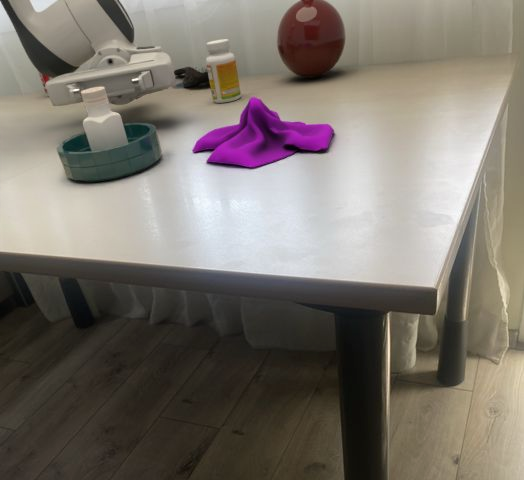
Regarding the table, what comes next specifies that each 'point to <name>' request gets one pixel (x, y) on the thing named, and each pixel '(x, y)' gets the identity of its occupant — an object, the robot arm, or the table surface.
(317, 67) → the red balloon
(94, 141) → the pepper shaker
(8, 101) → the table surface
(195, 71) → the black glove
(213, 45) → the supplement bottle
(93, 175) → the bowl
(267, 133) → the cloth
